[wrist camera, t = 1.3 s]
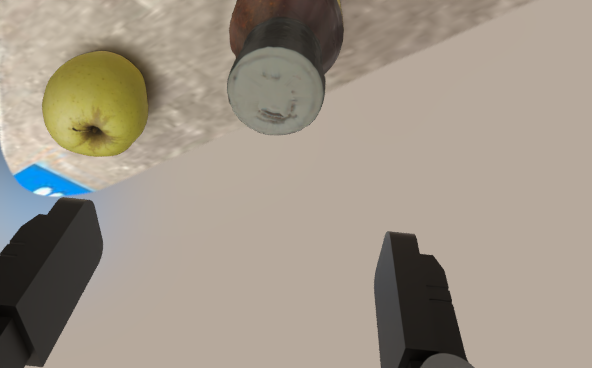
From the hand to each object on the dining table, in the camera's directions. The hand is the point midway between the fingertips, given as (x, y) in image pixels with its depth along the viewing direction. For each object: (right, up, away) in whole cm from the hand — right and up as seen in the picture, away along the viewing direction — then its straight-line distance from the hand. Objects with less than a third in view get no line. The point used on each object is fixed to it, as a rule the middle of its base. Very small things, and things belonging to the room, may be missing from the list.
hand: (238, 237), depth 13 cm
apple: (-14, +10, +28) cm, 33 cm away
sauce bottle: (+2, +17, +22) cm, 28 cm away
